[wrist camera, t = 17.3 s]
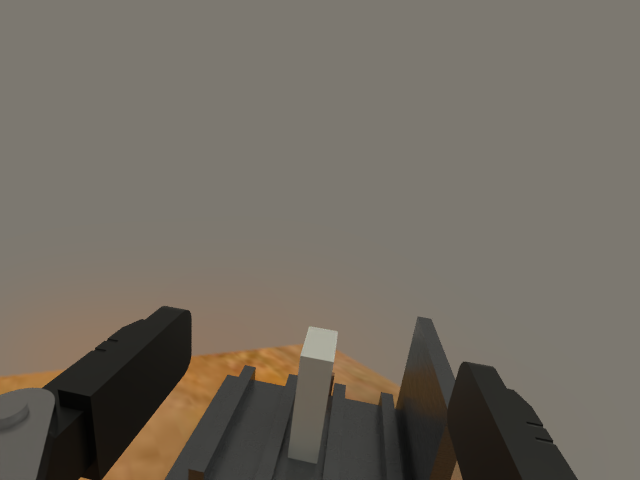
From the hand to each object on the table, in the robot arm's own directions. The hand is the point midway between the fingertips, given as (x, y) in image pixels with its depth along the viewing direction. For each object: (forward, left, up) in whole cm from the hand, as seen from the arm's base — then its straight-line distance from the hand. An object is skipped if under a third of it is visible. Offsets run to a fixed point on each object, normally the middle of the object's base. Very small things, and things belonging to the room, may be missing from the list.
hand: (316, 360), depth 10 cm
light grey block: (+1, -19, -24) cm, 31 cm away
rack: (+1, -19, -25) cm, 31 cm away
